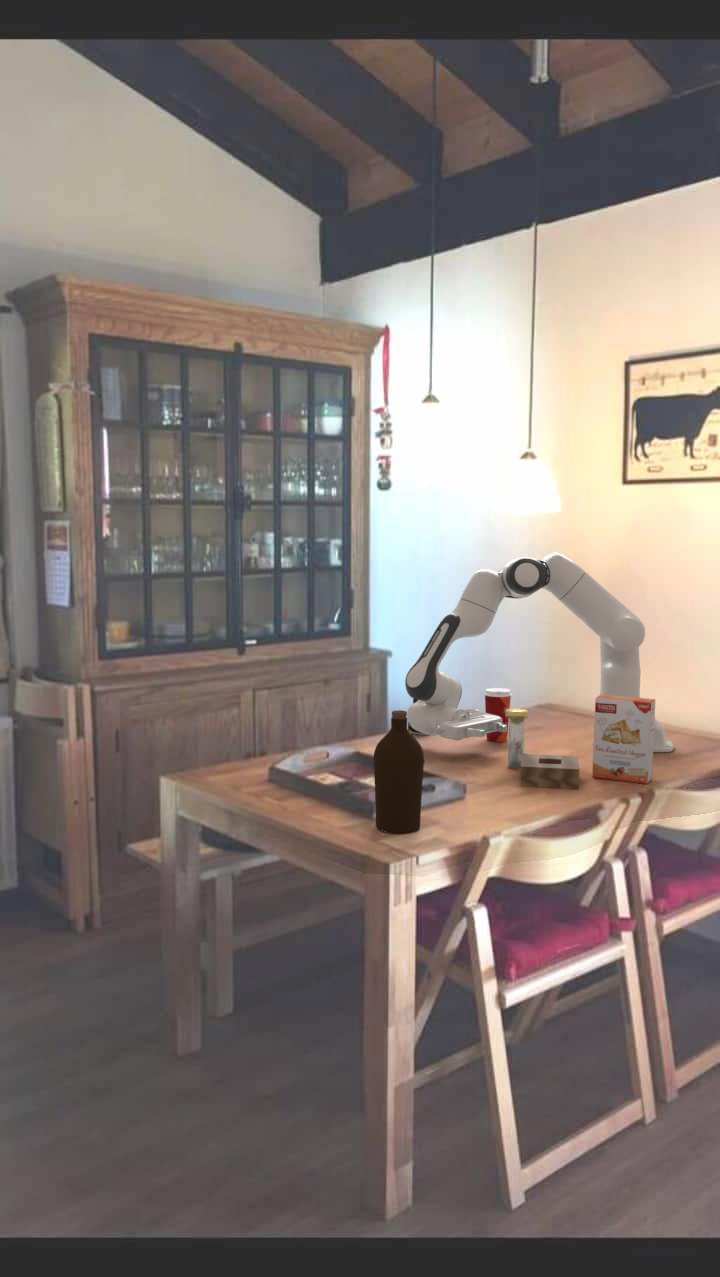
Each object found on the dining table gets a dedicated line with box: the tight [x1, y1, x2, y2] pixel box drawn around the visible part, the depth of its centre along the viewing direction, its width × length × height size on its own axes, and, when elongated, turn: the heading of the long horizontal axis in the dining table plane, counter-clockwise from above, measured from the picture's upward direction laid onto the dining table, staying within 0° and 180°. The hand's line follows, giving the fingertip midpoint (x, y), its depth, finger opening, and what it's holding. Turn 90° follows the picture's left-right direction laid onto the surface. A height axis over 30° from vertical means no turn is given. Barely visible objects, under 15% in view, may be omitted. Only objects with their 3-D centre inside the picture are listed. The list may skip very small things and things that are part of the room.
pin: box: [505, 708, 530, 770], centre depth 274 cm, size 6×6×15 cm
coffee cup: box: [483, 687, 513, 743], centre depth 308 cm, size 8×8×15 cm
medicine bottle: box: [407, 698, 429, 736], centre depth 318 cm, size 7×7×12 cm
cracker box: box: [591, 694, 656, 785], centre depth 262 cm, size 14×6×21 cm, turn 63°
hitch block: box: [519, 753, 580, 790], centre depth 260 cm, size 14×14×5 cm
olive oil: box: [373, 709, 425, 834], centre depth 219 cm, size 11×11×25 cm
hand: (494, 731), depth 280 cm, fingers open, 8 cm apart
